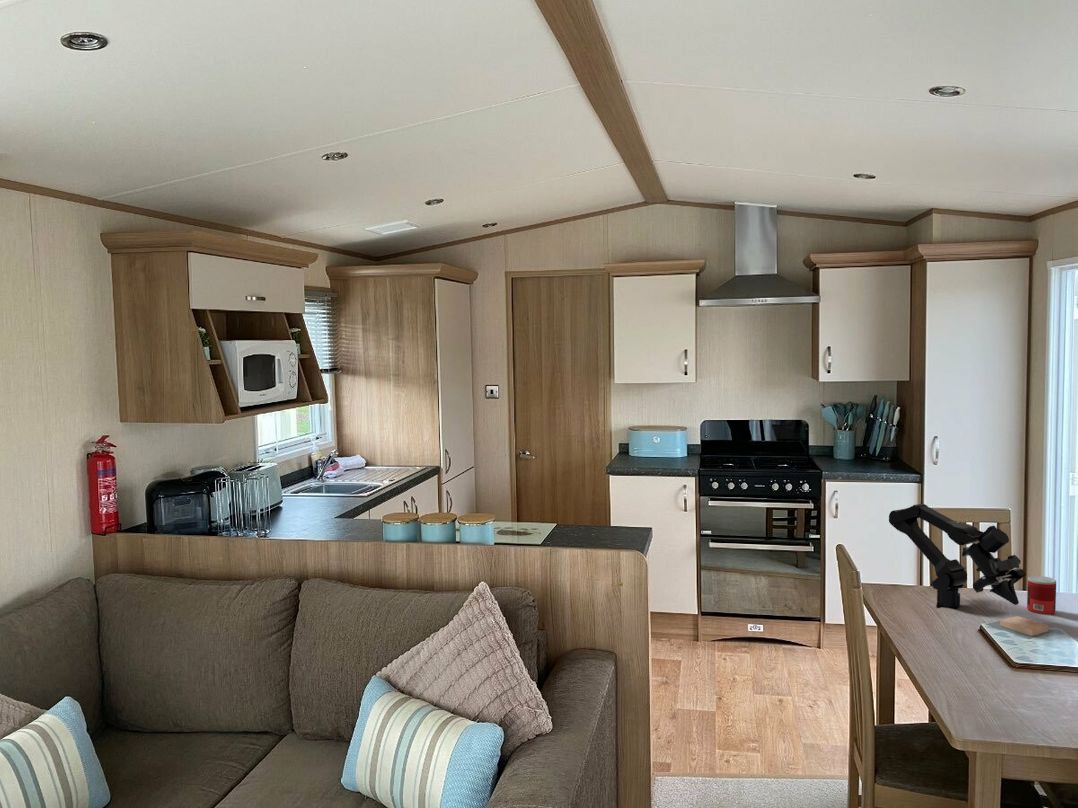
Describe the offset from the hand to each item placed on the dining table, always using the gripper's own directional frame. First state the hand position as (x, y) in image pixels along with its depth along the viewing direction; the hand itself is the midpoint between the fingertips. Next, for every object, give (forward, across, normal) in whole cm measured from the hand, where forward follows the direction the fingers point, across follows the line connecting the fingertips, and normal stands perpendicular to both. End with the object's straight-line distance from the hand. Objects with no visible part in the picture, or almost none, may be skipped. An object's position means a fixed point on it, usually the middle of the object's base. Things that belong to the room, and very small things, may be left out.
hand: (1017, 604), depth 258 cm
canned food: (+2, +21, +10) cm, 23 cm away
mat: (+6, 0, +5) cm, 8 cm away
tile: (+2, 0, +6) cm, 7 cm away
